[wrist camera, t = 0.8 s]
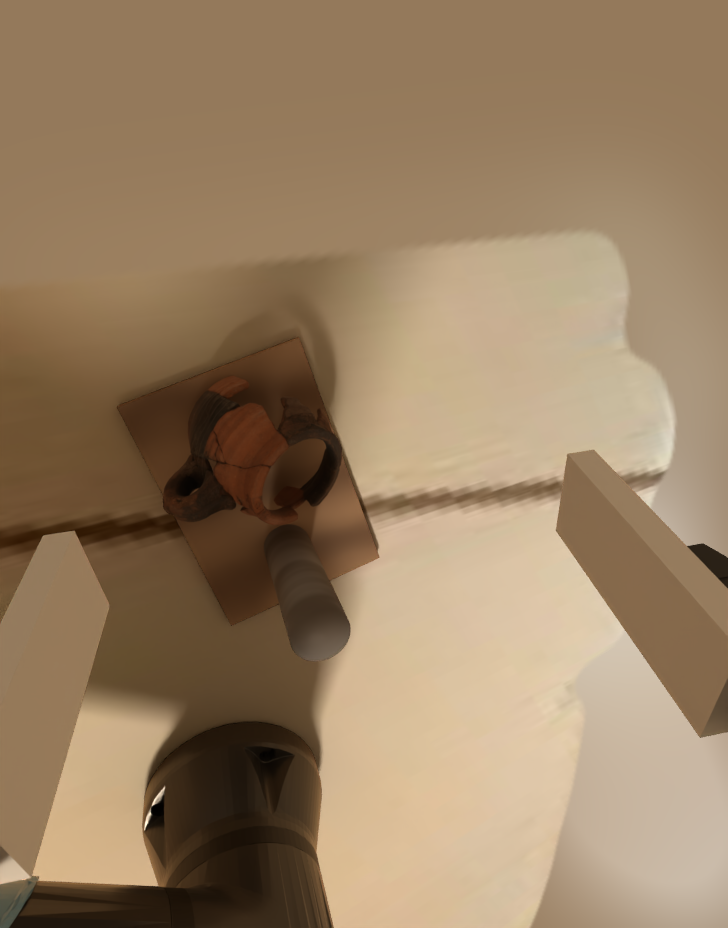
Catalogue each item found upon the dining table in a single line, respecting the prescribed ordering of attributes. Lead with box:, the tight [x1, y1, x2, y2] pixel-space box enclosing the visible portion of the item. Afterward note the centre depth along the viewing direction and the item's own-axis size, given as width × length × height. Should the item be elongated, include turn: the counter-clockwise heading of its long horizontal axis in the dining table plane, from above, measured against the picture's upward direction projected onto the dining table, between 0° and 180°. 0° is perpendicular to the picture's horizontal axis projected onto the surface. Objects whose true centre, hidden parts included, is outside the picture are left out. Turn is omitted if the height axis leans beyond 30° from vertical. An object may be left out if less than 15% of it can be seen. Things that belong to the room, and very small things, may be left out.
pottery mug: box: [163, 376, 342, 525], centre depth 38 cm, size 12×10×8 cm
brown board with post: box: [117, 337, 380, 661], centre depth 37 cm, size 19×13×13 cm
